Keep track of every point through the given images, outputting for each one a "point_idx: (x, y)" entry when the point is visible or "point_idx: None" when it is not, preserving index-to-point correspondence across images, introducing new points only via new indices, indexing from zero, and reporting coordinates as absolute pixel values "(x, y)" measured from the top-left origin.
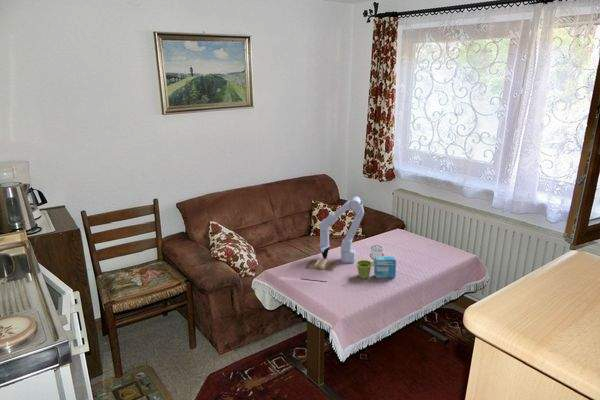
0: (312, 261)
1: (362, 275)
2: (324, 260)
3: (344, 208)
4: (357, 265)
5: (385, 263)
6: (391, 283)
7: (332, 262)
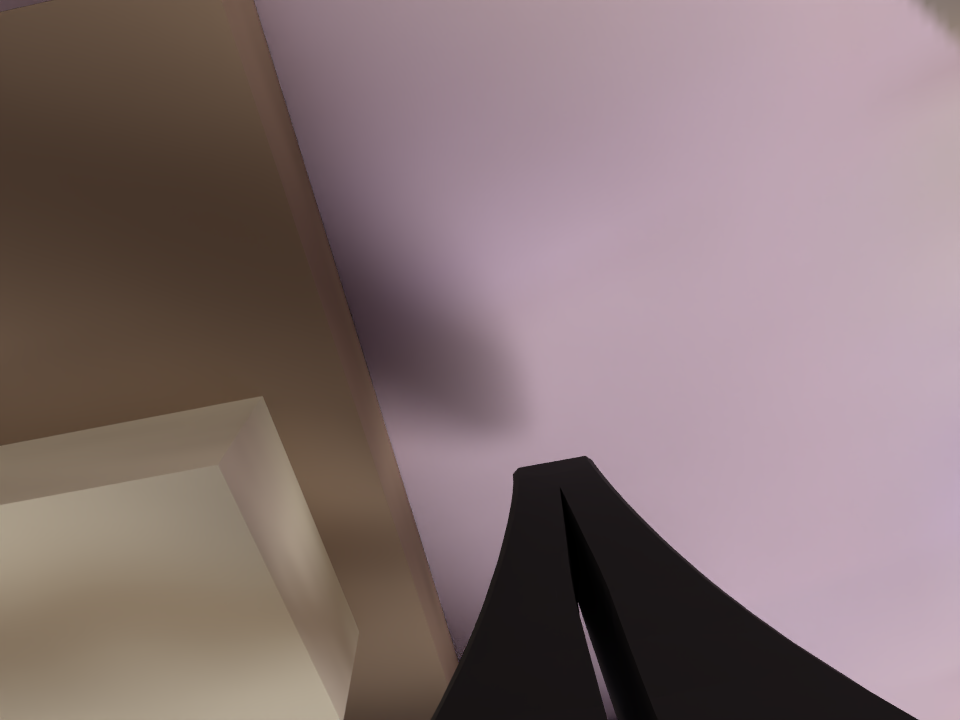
0: (100, 171)
1: None
2: (211, 681)
3: None
4: None
5: None
6: None
7: (412, 712)
